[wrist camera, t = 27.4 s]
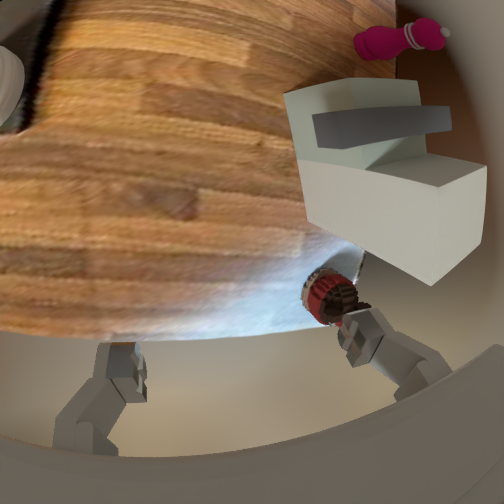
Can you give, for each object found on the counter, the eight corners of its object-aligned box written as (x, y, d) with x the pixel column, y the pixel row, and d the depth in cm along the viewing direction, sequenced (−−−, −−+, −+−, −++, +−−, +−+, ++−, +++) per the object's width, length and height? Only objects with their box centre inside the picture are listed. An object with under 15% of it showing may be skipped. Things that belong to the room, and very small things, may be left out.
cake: (344, 265, 55) (408, 307, 40) (334, 305, 58) (390, 352, 43) (301, 269, 51) (365, 320, 36) (292, 312, 54) (347, 369, 39)
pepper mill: (369, 30, 38) (449, 12, 21) (382, 60, 42) (464, 52, 24) (346, 32, 37) (431, 9, 20) (360, 65, 41) (448, 53, 23)
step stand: (307, 221, 48) (430, 286, 26) (283, 93, 38) (425, 67, 16) (365, 199, 51) (480, 242, 29) (349, 88, 42) (479, 81, 19)
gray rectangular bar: (317, 147, 26) (342, 149, 23) (311, 114, 25) (336, 112, 21) (430, 127, 32) (452, 130, 28) (427, 105, 30) (449, 106, 27)
